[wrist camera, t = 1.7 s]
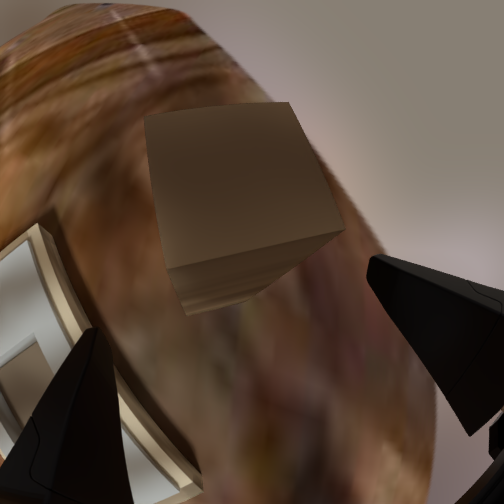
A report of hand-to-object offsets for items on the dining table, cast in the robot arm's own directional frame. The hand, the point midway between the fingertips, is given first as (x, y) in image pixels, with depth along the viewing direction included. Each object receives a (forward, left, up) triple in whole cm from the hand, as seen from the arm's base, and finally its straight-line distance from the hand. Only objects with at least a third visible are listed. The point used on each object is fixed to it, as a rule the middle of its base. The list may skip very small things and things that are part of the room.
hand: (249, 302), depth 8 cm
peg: (+3, -1, -10) cm, 11 cm away
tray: (+2, +14, -10) cm, 17 cm away
